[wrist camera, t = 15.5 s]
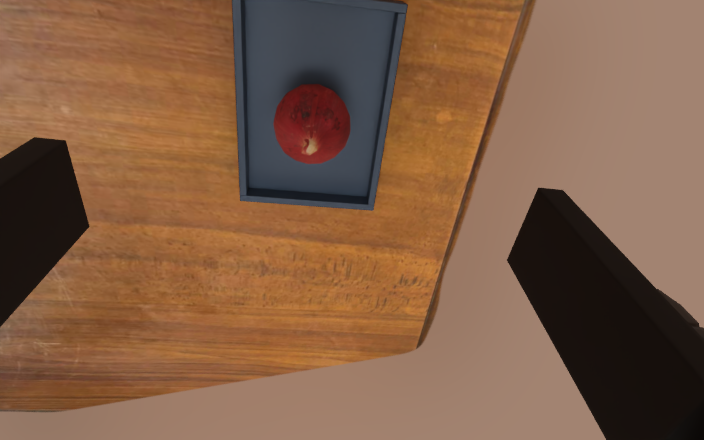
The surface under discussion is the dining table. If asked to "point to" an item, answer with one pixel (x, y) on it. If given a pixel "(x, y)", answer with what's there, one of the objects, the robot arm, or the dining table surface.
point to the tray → (314, 68)
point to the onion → (312, 124)
